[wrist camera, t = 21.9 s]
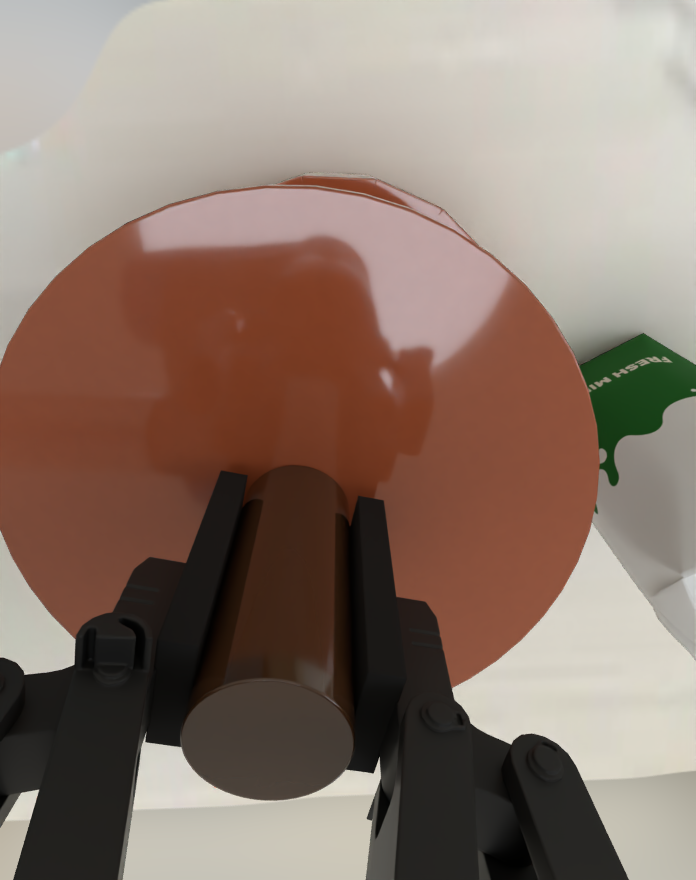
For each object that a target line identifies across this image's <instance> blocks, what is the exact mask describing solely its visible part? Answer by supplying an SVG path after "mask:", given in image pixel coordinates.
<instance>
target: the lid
mask: <svg viewBox="0 0 696 880" xmlns="http://www.w3.org/2000/svg"><path fill="white" fill-rule="evenodd" d="M599 466H600V457H599V444H598V432H597V423H596V419H595V415H594V411H593V406H592V402H591V398H590V394H589V389H588V387H587V384H586V382H585V379H584V377H583V374H582V372H581V369H580V367H579V365H578V362H577V360H576V357H575V355H574V352H573V351H572V349H571V347H570V346H569V344H568V342H567V341H566V339H565V337H564V336H563V334H562V332H561V331H560V329H559V327H558V326H557V324H556V322H555V321H554V319H553V317H552V316H551V315H550V314H549V313H548V311H547V310H546V309H545V308H544V306H543V305H542V304H541V303H540V302H539V300H538V299H537V298H536V297H535V296H534V294H533V293H532V292H531V291H530V289H529V288H528V287H527V286H526V285H525V284H524V283H523V282H522V281H521V280H520V279H519V278H518V277H516V276H515V275H514V274H513V273H512V272H511V271H510V270H509V269H508V268H506V267H505V266H504V265H503V264H502V263H501V262H500V261H499V260H498V259H496V258H495V257H494V256H493V255H492V254H490V253H489V252H487V251H486V250H484V249H483V248H481V247H480V246H478V245H477V244H475V243H474V242H472V241H471V240H469V239H468V238H466V237H465V236H463V235H462V234H460V233H459V232H457V231H456V230H454V229H453V228H451V227H449V226H447V225H445V224H443V223H441V222H438V221H436V220H434V219H432V218H430V217H428V216H426V215H424V214H422V213H420V212H417V211H415V210H413V209H411V208H409V207H406V206H403V205H400V204H396V203H393V202H390V201H387V200H384V199H380V198H377V197H374V196H371V195H367V194H364V193H359V192H353V191H347V190H340V189H334V188H328V187H322V186H316V185H259V186H251V187H243V188H235V189H227V190H219V191H216V192H212V193H208V194H205V195H201V196H197V197H194V198H190V199H186V200H183V201H179V202H175V203H172V204H169V205H166V206H164V207H162V208H160V209H157V210H155V211H153V212H151V213H148V214H146V215H144V216H141V217H139V218H137V219H135V220H132V221H130V222H128V223H126V224H124V225H123V226H121V227H120V228H118V229H116V230H115V231H113V232H112V233H110V234H109V235H107V236H105V237H104V238H102V239H101V240H99V241H98V242H96V243H94V244H93V245H91V246H90V247H88V248H87V249H86V250H85V251H84V252H82V253H81V254H80V255H79V256H78V257H77V258H76V259H75V260H73V261H72V262H71V263H70V264H69V265H68V266H67V267H65V268H64V269H63V270H62V271H61V272H60V273H59V274H58V275H56V276H55V277H54V279H53V280H52V281H51V282H50V284H49V285H48V286H47V287H46V288H45V290H44V291H43V292H42V293H41V294H40V296H39V297H38V298H37V299H36V301H35V302H34V303H33V304H32V305H31V307H30V308H29V309H28V311H27V312H26V314H25V316H24V318H23V319H22V321H21V323H20V325H19V326H18V328H17V330H16V331H15V333H14V335H13V337H12V338H11V340H10V342H9V344H8V346H7V348H6V351H5V354H4V356H3V359H2V362H1V364H0V530H1V533H2V535H3V537H4V540H5V542H6V544H7V547H8V549H9V552H10V554H11V556H12V558H13V560H14V562H15V563H16V565H17V567H18V568H19V570H20V572H21V573H22V575H23V577H24V579H25V580H26V582H27V584H28V585H29V587H30V588H31V590H32V591H33V592H34V593H35V595H36V596H37V597H38V599H39V600H40V601H41V602H42V604H43V605H44V606H45V608H46V609H47V610H48V612H49V613H50V614H51V615H52V616H53V617H54V618H55V619H56V620H57V621H58V622H59V623H60V624H61V625H62V626H63V627H64V628H65V629H66V630H67V631H68V632H69V633H70V634H71V635H72V636H73V638H75V639H76V635H77V633H78V631H79V630H80V628H81V626H82V625H84V624H85V623H86V622H88V621H89V620H90V619H92V618H94V617H96V616H99V615H102V614H105V613H112V612H113V610H114V608H115V606H116V604H117V602H118V600H119V599H120V596H121V594H122V592H123V590H124V588H125V587H126V584H127V582H128V580H129V578H130V576H131V574H132V572H133V570H134V568H136V567H137V566H138V565H140V564H141V563H142V562H143V561H145V560H146V559H147V558H149V557H154V558H160V559H166V560H172V561H178V562H184V563H186V561H187V559H188V556H189V553H190V551H191V548H192V545H193V543H194V540H195V538H196V535H197V532H198V530H199V527H200V524H201V522H202V519H203V516H204V514H205V511H206V508H207V506H208V503H209V500H210V498H211V495H212V493H213V490H214V487H215V485H216V482H217V479H218V477H219V474H220V471H221V470H222V471H227V472H233V473H238V474H244V475H248V477H247V483H246V489H245V495H244V500H243V506H242V511H241V514H240V518H239V522H238V525H237V529H236V533H235V536H234V540H233V543H232V547H231V551H230V554H229V558H228V561H227V565H226V569H225V572H224V576H223V580H222V583H221V587H220V590H219V594H218V598H217V601H216V605H215V608H214V612H213V616H212V619H211V623H210V626H209V630H208V634H207V637H206V641H205V645H204V648H203V652H202V655H201V659H200V663H199V666H198V670H197V673H196V677H195V681H194V684H193V688H192V690H191V693H190V697H189V700H188V704H187V707H186V711H185V714H184V718H183V722H182V726H181V730H180V741H181V747H182V750H183V753H184V756H185V758H186V760H187V762H188V763H189V765H190V766H191V767H192V769H193V770H194V771H195V772H196V773H197V774H198V775H199V776H200V777H201V778H203V779H204V780H205V781H206V782H208V783H210V784H211V785H213V786H214V787H216V788H218V789H220V790H222V791H225V792H227V793H230V794H233V795H236V796H240V797H243V798H249V799H254V800H265V801H277V800H288V799H294V798H299V797H302V796H306V795H309V794H312V793H314V792H317V791H319V790H321V789H323V788H325V787H326V786H328V785H329V784H331V783H332V782H334V781H335V780H336V779H337V778H338V777H340V776H341V774H342V773H343V772H344V771H345V770H346V768H347V767H348V765H349V764H350V762H351V759H352V757H353V755H354V751H355V746H356V728H355V692H354V656H353V621H352V585H351V549H350V525H351V521H352V518H353V514H354V510H355V506H356V502H357V498H358V496H363V497H369V498H374V499H380V500H384V505H385V513H386V520H387V528H388V536H389V543H390V551H391V559H392V567H393V574H394V582H395V590H396V597H401V598H407V599H413V600H419V601H425V602H426V603H427V604H428V606H429V607H430V609H431V610H432V611H433V613H434V614H435V616H436V617H437V621H438V626H439V631H440V637H441V640H442V645H443V650H444V654H445V659H446V664H447V668H448V673H449V678H450V683H451V687H452V688H453V687H455V686H457V685H459V684H461V683H463V682H465V681H467V680H468V679H470V678H472V677H473V676H475V675H476V674H478V673H479V672H481V671H482V670H484V669H485V668H487V667H488V666H490V665H491V664H493V663H494V662H496V661H497V660H498V659H499V658H501V657H502V656H503V655H504V654H505V653H507V652H508V651H509V650H510V649H511V648H513V647H514V646H515V645H516V644H517V643H518V642H520V641H521V640H522V639H523V638H524V637H525V636H526V634H527V633H528V632H529V631H530V630H531V629H532V628H533V627H534V626H535V625H536V624H537V623H538V622H539V621H540V620H541V618H542V617H543V616H544V615H545V613H546V612H547V611H548V609H549V608H550V607H551V605H552V604H553V603H554V601H555V600H556V598H557V597H558V596H559V594H560V593H561V592H562V590H563V588H564V586H565V585H566V583H567V581H568V579H569V577H570V575H571V574H572V572H573V570H574V568H575V566H576V564H577V563H578V560H579V558H580V555H581V552H582V550H583V547H584V544H585V542H586V539H587V537H588V534H589V531H590V527H591V523H592V518H593V514H594V509H595V505H596V501H597V494H598V480H599Z"/></svg>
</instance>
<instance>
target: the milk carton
mask: <svg viewBox="0 0 696 880" xmlns="http://www.w3.org/2000/svg"><path fill="white" fill-rule="evenodd" d="M579 367H580V369H581V372H582V374H583V377H584V379H585V382H586V384H587V387H588V389H589V394H590V398H591V402H592V406H593V411H594V415H595V419H596V423H597V432H598V444H599V457H600V466H599V480H598V494H597V501H596V505H595V509H594V514H593V518H592V523H593V525H594V526H595V528H596V529H597V530H598V532H599V533H600V535H601V536H602V537H603V539H604V540H605V542H606V543H607V545H608V546H609V547H610V549H611V550H612V552H613V553H614V554H615V556H616V557H617V559H618V560H619V561H620V563H621V564H622V566H623V567H624V569H625V570H626V571H627V573H628V574H629V576H630V577H631V578H632V580H633V581H634V583H635V584H636V585H637V587H638V588H639V590H640V591H641V592H642V593H643V595H644V596H645V597H646V599H647V600H648V601H649V603H650V604H651V605H652V606H653V609H654V611H655V613H656V615H657V617H658V620H659V621H660V622H661V623H662V624H663V626H664V627H665V628H666V629H667V630H668V631H669V632H670V633H671V635H672V636H673V637H674V638H675V639H676V640H677V641H678V642H679V643H680V644H681V645H682V646H683V647H684V648H685V649H686V650H687V651H688V652H689V653H690V654H691V655H692V657H693V658H694V659H695V661H696V365H695V364H693V363H692V362H690V361H688V360H687V359H685V358H683V357H682V356H680V355H678V354H677V353H675V352H673V351H672V350H670V349H668V348H667V347H665V346H663V345H662V344H660V343H659V342H657V341H655V340H654V339H652V338H650V337H649V336H647V335H646V334H644V333H643V334H641V335H639V336H637V337H635V338H633V339H631V340H629V341H627V342H626V343H624V344H622V345H620V346H618V347H616V348H614V349H612V350H610V351H608V352H606V353H604V354H602V355H600V356H598V357H596V358H594V359H592V360H590V361H588V362H586V363H584V364H582V365H580V366H579Z"/></svg>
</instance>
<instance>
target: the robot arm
mask: <svg viewBox="0 0 696 880" xmlns="http://www.w3.org/2000/svg"><path fill="white" fill-rule="evenodd" d="M247 477H248V475H244V474H238V473H233V472H227V471H222V470H221V471H220V474H219V477H218V479H217V482H216V485H215V487H214V490H213V493H212V495H211V498H210V500H209V503H208V506H207V508H206V511H205V514H204V516H203V519H202V522H201V524H200V527H199V530H198V532H197V535H196V538H195V540H194V543H193V545H192V548H191V551H190V553H189V556H188V559H187V561H186V563H184V562H178V561H172V560H166V559H160V558H154V557H149V558H147V559H146V560H145V561H143V562H142V563H141V564H140V565H138V566H137V567H136V568H134V570H133V572H132V574H131V576H130V578H129V580H128V582H127V584H126V587H125V588H124V590H123V592H122V594H121V596H120V599H119V600H118V602H117V604H116V606H115V608H114V610H113V612H112V613H105V614H102V615H99V616H96V617H94V618H92V619H90V620H89V621H88V622H86V623H85V624H84V625H82V626H81V628H80V630H79V631H78V633H77V635H76V643H75V665H73V666H71V667H68V668H65V669H63V670H58V671H53V672H47V673H38V674H29V675H24V671H23V670H22V669H21V668H20V666H19V665H18V664H17V663H15V662H13V661H11V660H8V659H6V658H0V827H1V826H2V824H3V822H4V821H5V819H6V817H7V816H8V814H9V812H10V811H11V809H12V807H13V805H14V804H15V802H16V800H17V799H18V797H19V795H20V794H21V793H22V792H27V791H33V790H39V789H40V790H39V793H38V796H37V800H36V803H35V807H34V810H33V814H32V817H31V820H30V824H29V827H28V831H27V834H26V838H25V841H24V845H23V848H22V851H21V855H20V858H19V862H18V865H17V869H16V872H15V875H14V879H13V880H122V879H123V873H124V866H125V859H126V852H127V845H128V838H129V831H130V825H131V818H132V811H133V804H134V797H135V790H136V783H137V776H138V770H139V762H140V753H141V746H142V743H143V740H144V737H145V734H146V741H145V742H148V743H155V744H162V745H170V746H177V747H181V741H180V730H181V726H182V722H183V718H184V714H185V711H186V707H187V704H188V700H189V697H190V693H191V690H192V688H193V684H194V681H195V677H196V673H197V670H198V666H199V663H200V659H201V655H202V652H203V648H204V645H205V641H206V637H207V634H208V630H209V626H210V623H211V619H212V616H213V612H214V608H215V605H216V601H217V598H218V594H219V590H220V587H221V583H222V580H223V576H224V572H225V569H226V565H227V561H228V558H229V554H230V551H231V547H232V543H233V540H234V536H235V533H236V529H237V525H238V522H239V518H240V514H241V511H242V506H243V500H244V495H245V489H246V483H247ZM350 549H351V585H352V621H353V656H354V692H355V728H356V746H355V751H354V755H353V757H352V759H351V762H350V764H349V765H348V767H347V768H346V770H353V771H361V772H368V773H374V771H375V768H376V765H377V762H378V759H379V757H380V769H381V780H380V783H379V785H378V788H377V791H376V794H375V797H374V799H373V802H372V805H371V808H370V810H369V813H368V816H367V819H368V820H372V819H373V820H372V829H371V838H370V847H369V856H368V865H367V874H366V880H629V879H628V877H627V875H626V872H625V871H624V868H623V866H622V864H621V862H620V860H619V857H618V855H617V853H616V851H615V849H614V847H613V845H612V842H611V840H610V838H609V836H608V834H607V832H606V830H605V827H604V825H603V823H602V821H601V819H600V817H599V814H598V812H597V810H596V808H595V806H594V804H593V802H592V799H591V797H590V795H589V793H588V791H587V789H586V787H585V784H584V782H583V780H582V778H581V776H580V774H579V771H578V769H577V767H576V765H575V764H574V762H573V761H572V759H571V758H570V756H569V755H568V753H566V752H565V751H564V750H563V749H562V748H561V747H560V746H559V745H558V744H557V743H555V742H553V741H551V740H549V739H548V738H546V737H543V736H539V735H535V734H525V735H520V736H519V737H518V738H516V739H515V740H514V741H513V743H512V745H511V744H508V743H506V742H504V741H501V740H499V739H497V738H495V737H492V736H490V735H488V734H486V733H484V732H482V731H480V730H479V729H477V728H476V727H474V726H473V725H472V724H471V723H470V720H469V716H468V715H467V714H466V712H465V711H464V709H463V708H462V706H461V705H459V704H458V703H457V702H456V701H455V700H454V697H453V692H452V687H451V683H450V678H449V673H448V668H447V664H446V659H445V654H444V650H443V645H442V640H441V637H440V631H439V626H438V621H437V617H436V616H435V614H434V613H433V611H432V610H431V609H430V607H429V606H428V604H427V603H426V602H425V601H419V600H413V599H407V598H401V597H396V590H395V582H394V574H393V567H392V559H391V551H390V543H389V536H388V528H387V520H386V513H385V505H384V500H380V499H374V498H369V497H363V496H358V498H357V502H356V506H355V510H354V514H353V518H352V521H351V525H350ZM146 731H147V732H146Z"/></svg>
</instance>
